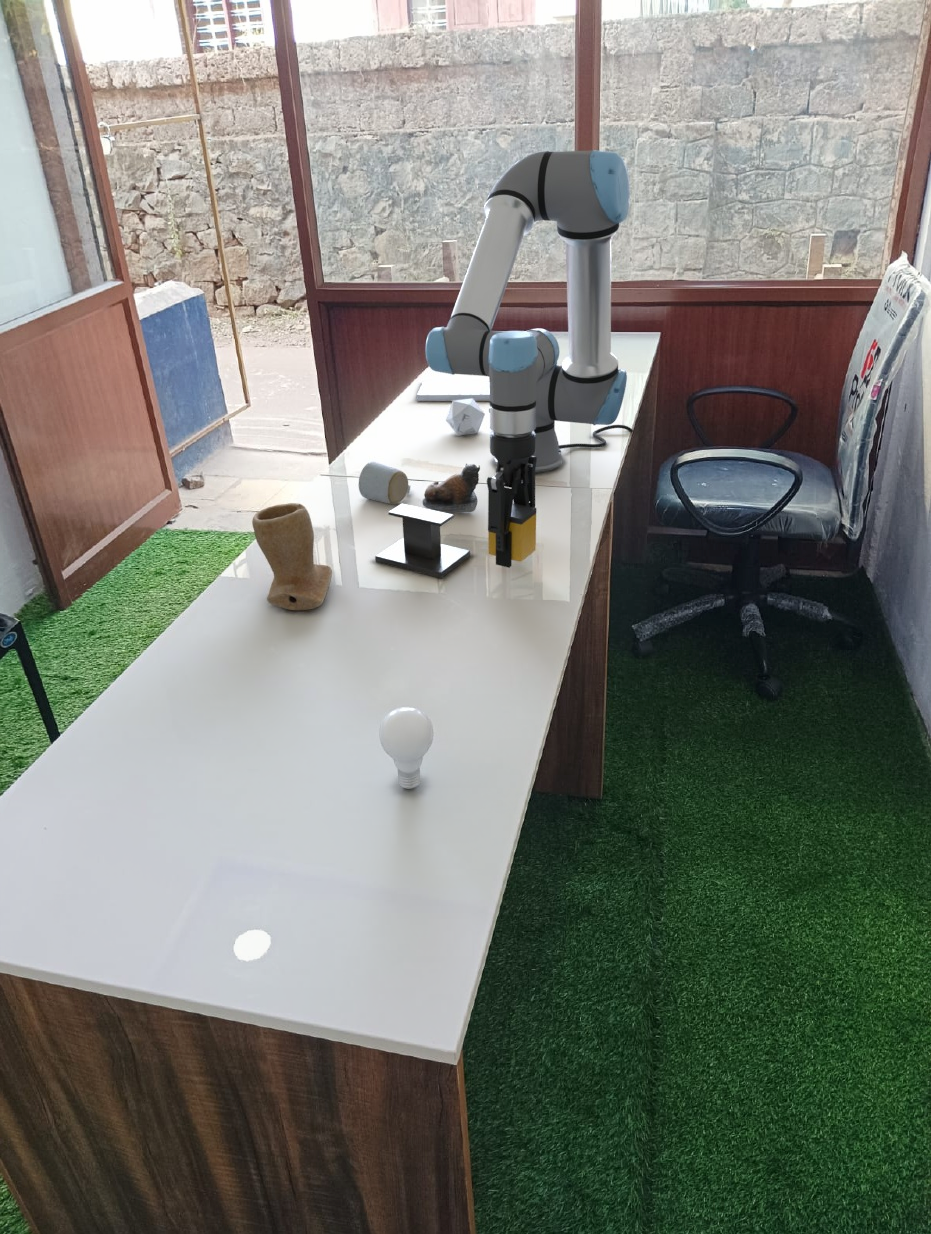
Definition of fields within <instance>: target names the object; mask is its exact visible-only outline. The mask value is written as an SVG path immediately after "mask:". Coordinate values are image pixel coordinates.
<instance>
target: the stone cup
mask: <svg viewBox="0 0 931 1234" xmlns="http://www.w3.org/2000/svg"><path fill="white" fill-rule="evenodd" d="M311 519H312V518H311V516H310V513H309V511H308V509H307V508H306V506H304V505H303V504H301V503H298V502H289V503H288V502H287V503H281V504H276V505H272V506H269V507H266V508H263V509H261V510H259V511H257V512H256V513H255V514H254V516H253V517H252V520H251V523H252V528H253V529H252V530H253V532H254V533H253V534H254V537H255V540H256V543H257V545H258V547H259V548H260V550H261V552H262V554H263V555H264V558H265V560H266V561H267V563H268V564H269V567H270V569H271V571H272V573H273V579H272V582H271V584H270V588H269V590H268V595H267V597H266V601H267V602H268V603H269V604H271V605H274V606H276V607H279V608H282V609H286V610H289V611H307V610H312V609H315V608H318V607H320V606H321V605H323V603H324V600H325V598H326V596H327V593H328V590H329V587H330V584H331V579H332V574H333V571H332V567H331V566H329V565H325V564H317V563H314V561H315V560H314V545H315V544H314V542H315V535H314V534H315V533H314V527H313V523H312V520H311Z"/></svg>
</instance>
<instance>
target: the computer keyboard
mask: <svg viewBox="0 0 931 1234" xmlns="http://www.w3.org/2000/svg"><path fill="white" fill-rule="evenodd" d="M471 398H473V399H474V400H475V402H477V401H478V402H481V401H482V402H483V401H485V402H488V401H489V402H490V383H489V380H458V381H457V380H451V381H450V380H449V381H448V380H444V381H441V380H440V381H439V380H438V381H436V380H435V381H433V380H432V381H431V380H430V381H429V380H428V381H427V380H426V381H425V380H424V381H422V383H421V385H420V387H419V389H418V391H417V393H416V401H417V402H452V401H455V400H463V399H471Z"/></svg>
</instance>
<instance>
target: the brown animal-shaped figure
mask: <svg viewBox="0 0 931 1234" xmlns="http://www.w3.org/2000/svg"><path fill="white" fill-rule="evenodd" d="M480 470H481V465H478V466H477V465H476V464H475V463H471V464H468V463H465V466H464V467H463V469H462V471H461V473H460V474H459V473H455V474H452V475H451V476H449V477H447V478H446V479H445V480H442V481H441V482H439V481H438V480H435V481H434V482H432V483H431V484H429V485H428V486H427V487H426V489H425V491H424V494H423V496H424V498H423V499H422V501H421V504H422V506H423V507H424V508H425V509H429V510H434V511H439V512H443V513H472V512H475V511H476V510H477V505H478V502H479V501H478V500H479V499H478V497H477V494H476V492H475V489H476V487H477V486H478V484H479V481H480V477H479V476H480V474H479V472H480Z"/></svg>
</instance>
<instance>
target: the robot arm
mask: <svg viewBox="0 0 931 1234" xmlns="http://www.w3.org/2000/svg"><path fill="white" fill-rule="evenodd" d="M628 173H629V172H628V169H627V166H626V163H625V161H624V159H623V157H622V156H621V155H620V154H619V153H617V152H615V151H602V150H599V149H594V150H566V151H565V150H564V151H550V150H540V151H535V152H533V153H532V152H531V153H529V154H527V155H526V156H524V157H521V158H520V159H519V160H517V161H516V162H514V163H513V164H512V165H511V166H509V168H507V169H506V171H504V172H503V173H502V175H501V176H500V177H499V178H498V180H497V181H496V182H495V183H494V185H493V186H492V188H491V190H490V191H489V194H488V195H487V198H486V201H485V203H484V206H483V209H482V216H483V219H484V223H483V225H482V228H481V231H480V234H479V236H478V240H477V242H476V245H475V248H474V251H473V254H472V256H471V259H470V262H469V265H468V266H467V267H468V268H467V270H466V272H465V273H466V274H465V276H464V279H463V282H462V284H461V287H460V290H459V293H458V295H457V299H456V300H455V301H456V302H455V304H454V307H453V310H452V312H451V315H450V318H449V321H448V323H447V324H446V325H447V326H446V327H445V326H440V327H434V328H432V329H431V330H430V331H429V332H428V334H427V337H426V341H425V347H424V348H425V358H426V359H425V360H426V363H427V364H428V365H427V366H428V368H430V370H432V371H434V372H437V373H444V374H448V375H454V376H455V375H464V376H481V377H489V380H488V381H489V383H490V401H489V409H488V413H489V429H490V430H491V432H489V453H490V454H491V456H492V457H493V459H494V460H493V461H494V465H495V466H496V468H495V475H493V477H492V476H488V477H487V479H486V485H487V491H488V492H487V495H488V497H487V498H488V499H487V531H488V532H492V533H496V556H495V565H496V566H500V567H505V568H509V569H510V568H511V567H513V566H512V565H513V564H512V561H513V560H512V532H510V531H509V526H510V519H511V512H512V504H513V503H514V504H519V505H524V506H529V507H534V508H536V474H540V473H541V474H542V473H546V472H551V471H554V470H555V469H557V468H559V467H561V465H562V463H563V455H562V449H570V448H602V447H605V446H606V445H607V441H606V439H605V438H603V437H602V436H600V435H598V434H599V433H602V432H605V431H609V430H613V429H624V430H626V431H628V432H630V433H633V432H634V430H633V429H632V428H631V427H630V426H627V425H625V424H614V423H615V422H616V420H617V419H618V417H619V414H620V411H621V408H622V405H623V401H624V397H625V392H626V387H627V380H628V374H627V371H626V370H624V369H622V368H619V359H618V358H617V356H616V355H614V354H613V353H612V327H611V326H612V238H613V237H614V236H615V235H616V234H617V233H618V232H619V230H620V224H621V223H623V222H625V220H626V219H627V217H628V214H629V208H630V197H631V195H630V194H631V193H630V181H629V180H630V179H629V174H628ZM539 221H545V222H549V221H550V222H556V232H557V235H558V236H559V237H560V239H562V240H563V241H564V242H565V266H566V267H565V268H566V269H565V270H566V271H565V272H566V301H567V303H566V304H567V330H568V331H567V333H568V335H567V336H568V355H567V356H566V357H565V358H564V359H563V361H562V363H561V365H558V360H559V358H560V345H559V342H558V340H557V338H556V336H554V334H553V333H552V332H550V331H549V330H547V329H544V328H531V329H529V330H526V331H524V330H507V331H501V330H500V331H499V330H493V326H494V323H495V320H496V317H497V315H498V312H499V309H500V306H501V302H502V300H503V297H504V294H505V291H506V288H507V285H508V282H509V279H510V278H511V273H512V271H513V267H514V265H515V262H516V259H517V256H518V253H519V250H520V248H521V244H522V242H523V240H524V236H526V235H528V234H529V233H530V232H531V230H532V229H533V226H534V224H535V223H536V222H539ZM555 422H565V423H575V424H588V425H592V426H596V425H597V426H598V425H600V426H603V427H601V428H598V429H596V430H594V431H593V432H592V436H593V438H595V439H596V440H598V441H599V442H601V443H567V444H559V443H560V442H559V440H558V436H557V433H556V429H555V427H556V426H555V424H556V423H555Z"/></svg>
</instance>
